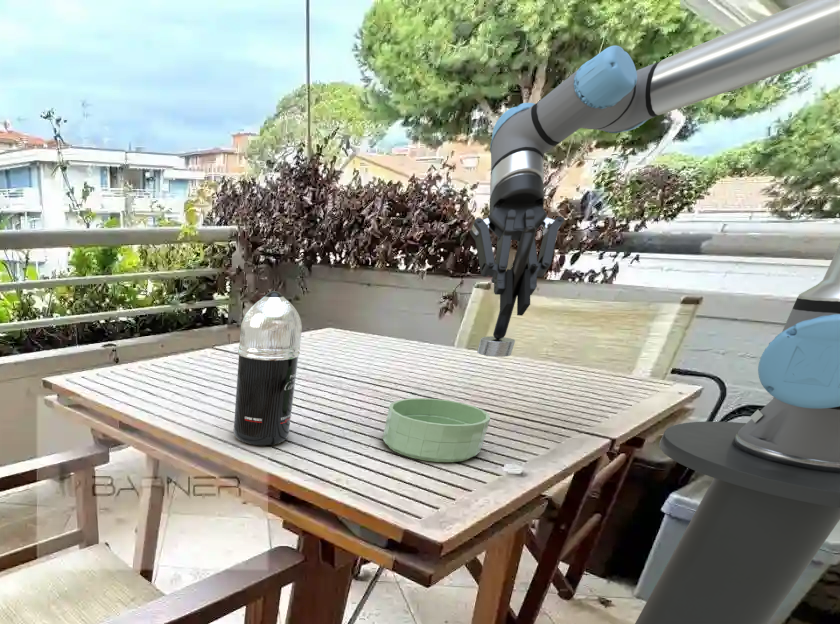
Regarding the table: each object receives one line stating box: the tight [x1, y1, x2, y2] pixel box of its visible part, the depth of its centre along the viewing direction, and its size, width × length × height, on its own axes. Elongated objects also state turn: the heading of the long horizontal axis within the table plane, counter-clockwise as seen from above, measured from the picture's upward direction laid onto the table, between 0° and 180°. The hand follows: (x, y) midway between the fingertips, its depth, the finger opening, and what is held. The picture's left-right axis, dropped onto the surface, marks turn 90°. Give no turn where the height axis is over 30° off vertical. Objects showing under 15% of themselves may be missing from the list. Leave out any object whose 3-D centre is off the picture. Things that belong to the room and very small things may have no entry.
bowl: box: [382, 397, 491, 463], centre depth 93 cm, size 15×15×6 cm
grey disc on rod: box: [476, 226, 537, 358], centre depth 89 cm, size 5×5×19 cm
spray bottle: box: [233, 290, 303, 447], centre depth 94 cm, size 10×10×25 cm
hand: (514, 309), depth 86 cm, fingers closed on grey disc on rod, 2 cm apart
